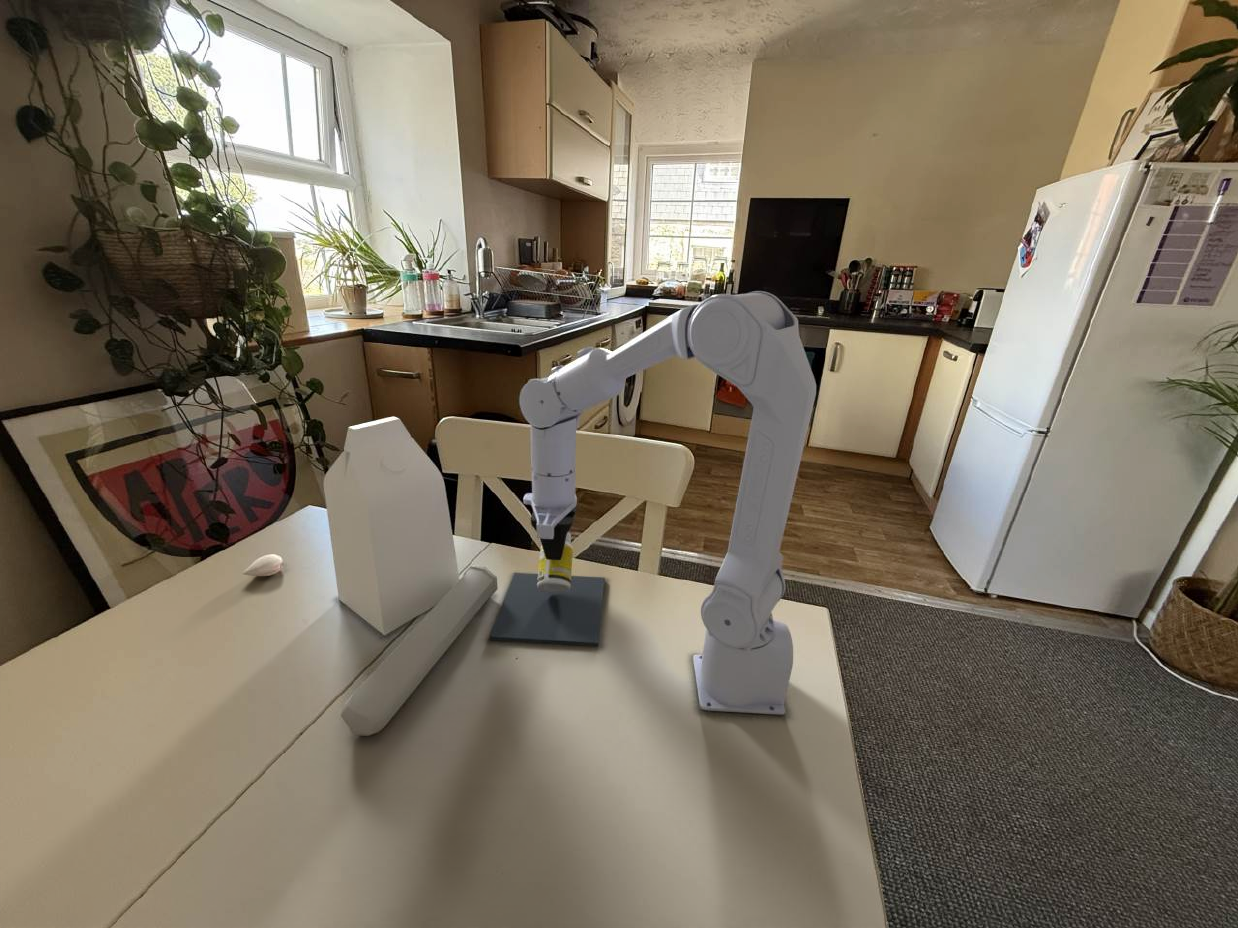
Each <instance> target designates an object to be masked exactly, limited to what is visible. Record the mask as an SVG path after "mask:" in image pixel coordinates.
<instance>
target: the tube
mask: <svg viewBox="0 0 1238 928" xmlns="http://www.w3.org/2000/svg"><path fill="white" fill-rule="evenodd" d="M498 588H499V587H498V576H497V575H495V574H494V573H493V572H492V571H491V570H490V569H488V568H487V567H486V566H481V565H477V564H471V565H470V566H469V567H468V569H466V571H465V572H464V573H463V576H462V577H461V578H460V580H459V581H458V582H457V583H456V584H455V585H454V587H453V588H452V589H451V590H450V591H449V592H448V593H447V594H446V595H445V596H444V597H443V598H442V599H441V600H440V601H439V603H438V604H437V605H435V606H434V607H432V609H431V610H430V611H429V612H428V613H427V614H426V615H425V616H424V617H423V618H422V619H421V620H420V621H419V622H418V623H417V625H416V626H414V628H413V629H412V630H411V631H410V632H409V633H408V634H407V635H406V636H405V638H404V639H403V640H402V641H401V642H399V644H398V645H396V647H395V648H394V649H393V650H392V651H391V653H390V654H389V655H388V656H386V657H385V659H384V660H383V661H382V662H381V663H380V664H379V665H378V666H377V667H376V668H375V670H374V671H373V672H372V673H371V674H370V675H369V676H368V677H367V678H366V679H365V680H364V681H363V682H362V683H361V684H360V685H359V686H358V687H357V689H356V690H355V691H354V692H353V693H351V695H350V696H349V698H348V699H347V700H346V701H345V703H344V705H343V708H342V711H341V713H340V717H341V719H342V720H343V721H344V723H345V724H346V726H347V727H348V729H349V730H350V731H351V733H352V734H353V735H354V736H365V737H367V736H368V737H369V736H372V735H375V734H378V733H380V732H381V731H382V730H383V729H384V728H385V727H386V726H387V725H388V723H390V721H391V719H392V718H393V717H394V716H395V715H396V713H397V712H398V711H399V710H400V709H401V707H402V706H403V705H404V703H405V702H406V701H407V699H409V697H410V696H411V695H412V694H413V693H414V691H415V690H416V689H417V688H418V686H419V685H420V684H421V682H422V681H423V680H424V679H425V677H426V676H427V675H428V674H429V672H430V671H431V670H432V669H433V668H434V667H435V665H436V664H437V663H438V661H439V660H440V659H441V658H442V656H443V655H444V654H445V652H447V650H448V649H449V648H450V647H451V645H452V644H453V643H454V641H455V640H456V639H457V638H458V637H459V635H460V634H461V633H462V631H464V630H465V628H466V627H467V625H468V624H469V623H470V622H471V620H472V619H473V618H474V617H475V616H476V614H477V613H478V612H479V610H480V609H481V608H482V607H483V606H484V604H485V603H486V602H487V601H488V599H490V598H491V597H492V596H493V595H494V594H495V593H496V592H497V591H498Z"/></svg>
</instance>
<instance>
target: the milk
mask: <svg viewBox="0 0 1238 928" xmlns="http://www.w3.org/2000/svg"><path fill="white" fill-rule="evenodd" d="M343 450H344V451H342V452H341V453H340V455H338V457H337V458H336V460H335V461H334V463H332V464H331V466H330V467H329V468H328V470H327V472H326V473H325V474H324V478H323V493H324V499H325V506H326V515H327V522H328V529H329V536H330V543H331V550H332V559H333V567H334V573H335V582H336V588H337V589H336V590H337V596H338V600H339V601H340V602H342V603H343V604H344V605H345V606H347V607H348V608H349V609H351V610H352V611H353V612H355V614H356V615H358V616H359V617H361V619H363V620H365V621H366V622H367V623H368V624H369V625H371V626H372V627H373V628H374V629H376V630H377V631H379V632H380V633H381V634H382V635H383V636H387V635H388V634H389V633H391V632H392V631H395V630H397V628H400V627H401V626H403V625H405V624H407V623H408V622H410V621H412V620H413V619H415V618H416V617H418V616H420V615H422V614H424V613H425V612H427V611H429V610H430V609H431V608H432V609H433V608H434V607H435V606H436V605H437V604H438V603H439V601H440V600H441V599H442V598H443V597H444V596H445V595H446V594H447V593H448V592H449V591H450V590H451V589H452V588H453V587H454V585H455V584H456V583H457V582H458V581H459V580H460V579H461V578H460V571H459V567H458V559H457V554H456V547H455V542H454V541H455V540H454V534H453V529H452V521H451V516H450V509H449V503H448V498H447V491H446V485H445V481H444V477H443V475H442V472H441V471H440V470H439V468H438V467H437V465H436V464H435V462H433V460H431V458H430V457H429V455H427V453H426V452H425V451H424V450H423V449H422V447H421V446H420V445H419V444H418V442H417V441H416V440H415V439H414V437H412V435H411V434H410V432H409V431H408V429H407V427H406V426H405V424H404V423H403V422H402V420H401V418H399V417H396V416H394V415H393V416H390V417H384V418H381V419H377V420H373V421H368V422H364V423H359V424H356V425H352V426H348V428H347V432H346V437H345V441H344V445H343Z"/></svg>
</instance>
